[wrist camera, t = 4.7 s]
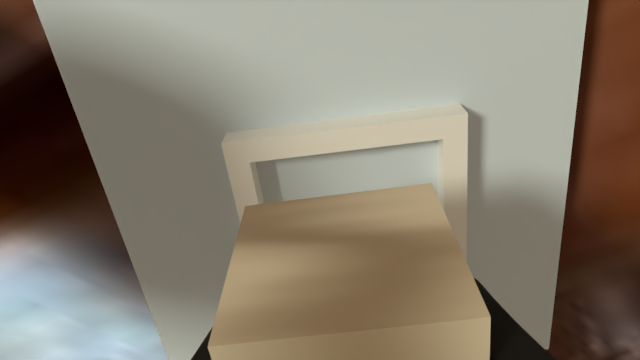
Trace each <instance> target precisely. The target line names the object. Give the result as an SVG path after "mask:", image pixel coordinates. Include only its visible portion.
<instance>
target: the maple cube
mask: <svg viewBox="0 0 640 360" xmlns="http://www.w3.org/2000/svg"><path fill="white" fill-rule="evenodd" d="M490 330H491V316H490V314H489V312H488V309H487V307H486V305H485V303H484V300H483V298H482V296H481V294H480V291H479V289H478V287H477V285H476V282H475V280H474V278H473V276H472V273H471V271H470V269H469V266H468V264H467V262H466V260H465V257H464V255H463V253H462V251H461V248H460V246H459V244H458V242H457V239H456V237H455V235H454V232H453V230H452V228H451V226H450V223H449V221H448V219H447V217H446V214H445V212H444V210H443V208H442V205H441V203H440V201H439V198H438V196H437V194H436V192H435V189H434V187H433V185H432V183H427V184H419V185H411V186H403V187H395V188H387V189H378V190H370V191H362V192H354V193H346V194H338V195H330V196H322V197H314V198H305V199H297V200H289V201H281V202H273V203H265V204H257V205H249V206H245V209H244V212H243V216H242V220H241V224H240V227H239V231H238V235H237V238H236V242H235V246H234V250H233V253H232V257H231V261H230V265H229V268H228V272H227V276H226V279H225V283H224V287H223V291H222V294H221V298H220V302H219V306H218V309H217V313H216V317H215V320H214V324H213V328H212V332H211V335H210V339H209V343H208V350H209V353H210V356H211V359H212V360H490Z"/></svg>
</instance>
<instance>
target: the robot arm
mask: <svg viewBox="0 0 640 360" xmlns="http://www.w3.org/2000/svg"><path fill="white" fill-rule="evenodd" d="M474 280H475V282H476V285H477V287H478V289H479V291H480V294H481V296H482V298H483V300H484V303H485V305H486V307H487V309H488V312H489V314H490V316H491V330H490V360H556V359H555V358H554V357H553V356H552V355H550V354H549V353H548V352H547V351H546V350H545V349H544V348H543V347H542V346H541V345H540V344H539V343H538V342H537V341H536V340H534V339H533V338H532V337H531V336H530V335H529V334H528V333H527V332H526V331H525V330H524V329H523V328H522V327H521V326H520V325H519V324H518V323H517V322H516V321H515V320H514V319H513V318H512V317H511V316H510V315H509V314H508V313H507V312H506V310H505V309H504V308H503V307H502V306H501V305H500V304H499V303H498V302H497V301H496V300H495V299H494V298H493V296H492V295H491V294H490V293H489V292H488V291H487V290H486V289H485V287H484V286H483V285H482V284H481V283H480V282H479V281H478V280H477V279H475V278H474ZM212 328H213V327H212ZM212 328H211V330H210V331H209V333H208V334H207V336H206V337H205V339H204V340H203V342H202V343H201V345H200V347H199V348H198V350H197V351H196V353H195V354H194V355H193V357H192V358H191V360H212V359H211V356H210V353H209V350H208V343H209V339H210V335H211V332H212Z"/></svg>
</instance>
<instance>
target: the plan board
mask: <svg viewBox="0 0 640 360" xmlns="http://www.w3.org/2000/svg"><path fill="white" fill-rule="evenodd" d="M33 2H34V5H35V7H36V10H37V13H38V15H39V18H40V21H41V23H42V26H43V29H44V31H45V34H46V37H47V39H48V42H49V44H50V47H51V50H52V52H53V55H54V58H55V60H56V63H57V66H58V68H59V71H60V74H61V76H62V79H63V82H64V84H65V87H66V90H67V92H68V95H69V97H70V100H71V103H72V105H73V108H74V111H75V113H76V116H77V119H78V121H79V124H80V127H81V129H82V132H83V135H84V137H85V140H86V143H87V145H88V148H89V150H90V153H91V156H92V158H93V161H94V164H95V166H96V169H97V172H98V174H99V177H100V180H101V182H102V185H103V188H104V190H105V193H106V196H107V198H108V201H109V203H110V206H111V209H112V211H113V214H114V217H115V219H116V222H117V225H118V227H119V230H120V233H121V235H122V238H123V241H124V243H125V246H126V249H127V251H128V254H129V256H130V259H131V262H132V264H133V267H134V270H135V272H136V275H137V278H138V280H139V283H140V286H141V288H142V291H143V294H144V296H145V299H146V302H147V304H148V307H149V309H150V312H151V315H152V317H153V320H154V323H155V325H156V328H157V331H158V333H159V336H160V339H161V341H162V344H163V347H164V349H165V352H166V355H167V357H168V360H191V358H192V357H193V355H194V354H195V353H196V351H197V350H198V348H199V347H200V345H201V343H202V342H203V340H204V339H205V337H206V336H207V334H208V333H209V331H210V330H211V328H212V327H213V324H214V320H215V317H216V313H217V309H218V306H219V302H220V298H221V294H222V291H223V287H224V283H225V279H226V276H227V272H228V268H229V265H230V261H231V257H232V253H233V250H234V246H235V242H236V238H237V235H238V231H239V227H240V224H241V220H242V216H243V212H244V209H245V206H249V205H257V204H265V203H273V202H281V201H289V200H297V199H305V198H314V197H322V196H330V195H338V194H346V193H354V192H362V191H370V190H378V189H387V188H395V187H403V186H411V185H419V184H427V183H432V185H433V187H434V189H435V192H436V194H437V196H438V198H439V201H440V203H441V205H442V208H443V210H444V212H445V214H446V217H447V219H448V221H449V223H450V226H451V228H452V230H453V232H454V235H455V237H456V239H457V242H458V244H459V246H460V248H461V251H462V253H463V255H464V257H465V260H466V262H467V264H468V266H469V269H470V271H471V273H472V276H473V278H475V279H477V280H478V281H479V282H480V283H481V284H482V285H483V286H484V287H485V289H486V290H487V291H488V292H489V293H490V294H491V295H492V296H493V298H494V299H495V300H496V301H497V302H498V303H499V304H500V305H501V306H502V307H503V308H504V309H505V310H506V312H507V313H508V314H509V315H510V316H511V317H512V318H513V319H514V320H515V321H516V322H517V323H518V324H519V325H520V326H521V327H522V328H523V329H524V330H525V331H526V332H527V333H528V334H529V335H530V336H531V337H532V338H533V339H534V340H536V341H537V342H538V343H539V344H540V345H541V346H542V347H543V348H544V349H549V343H550V334H551V326H552V317H553V308H554V300H555V291H556V282H557V273H558V265H559V256H560V247H561V238H562V230H563V221H564V212H565V203H566V195H567V186H568V177H569V168H570V160H571V151H572V142H573V133H574V125H575V116H576V107H577V98H578V90H579V81H580V72H581V63H582V55H583V46H584V37H585V28H586V20H587V11H588V2H589V0H33Z"/></svg>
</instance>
